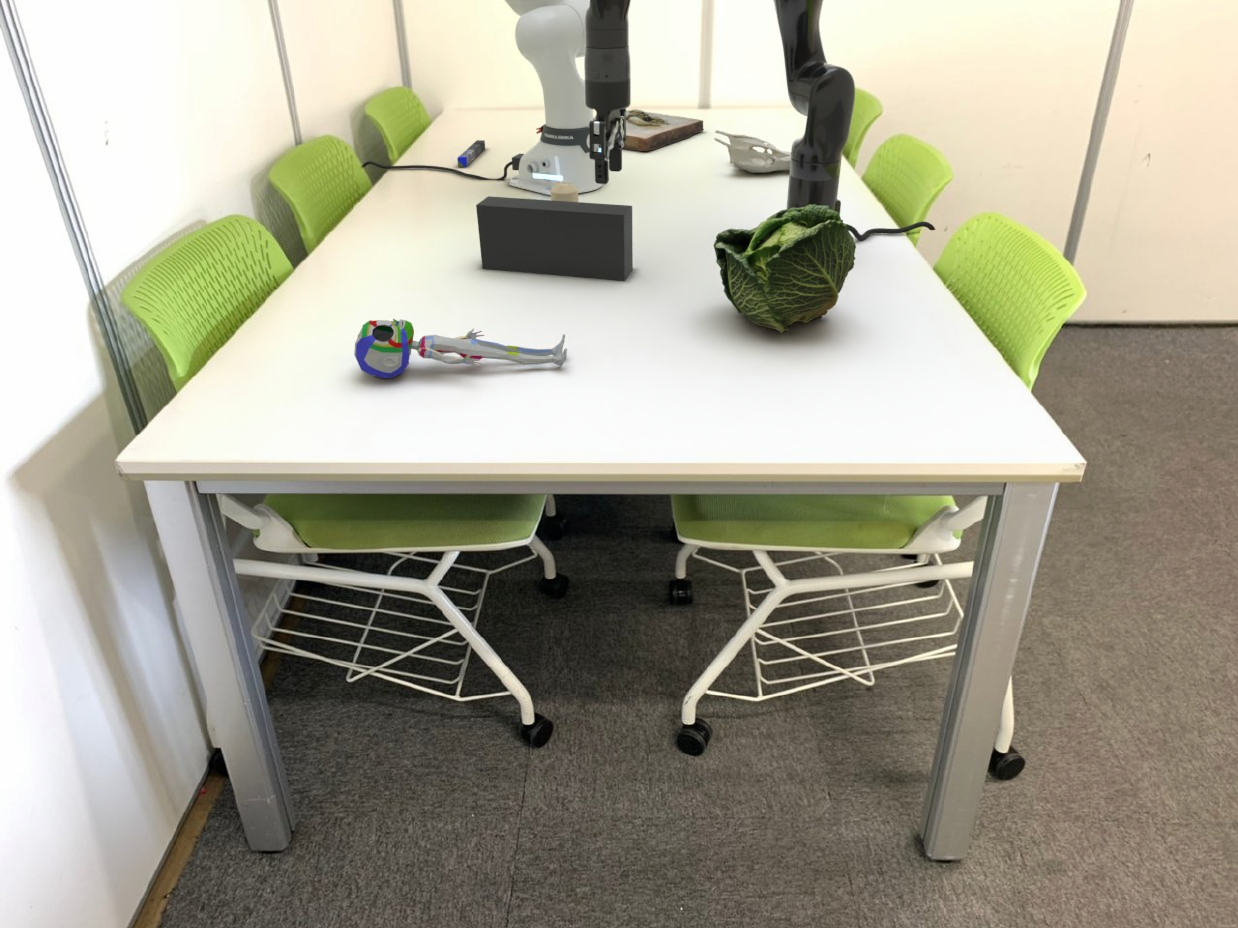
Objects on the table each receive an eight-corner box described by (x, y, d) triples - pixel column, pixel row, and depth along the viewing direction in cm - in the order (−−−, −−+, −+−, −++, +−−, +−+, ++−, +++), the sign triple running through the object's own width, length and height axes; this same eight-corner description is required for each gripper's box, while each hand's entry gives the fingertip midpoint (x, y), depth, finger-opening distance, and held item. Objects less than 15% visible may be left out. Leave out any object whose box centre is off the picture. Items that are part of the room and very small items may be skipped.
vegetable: (744, 347, 153) (688, 245, 145) (835, 284, 154) (785, 179, 146) (797, 369, 135) (736, 254, 127) (900, 297, 136) (846, 179, 128)
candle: (583, 228, 187) (581, 180, 181) (573, 236, 182) (571, 187, 177) (558, 226, 188) (556, 178, 183) (548, 234, 184) (545, 185, 178)
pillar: (484, 140, 247) (465, 158, 230) (485, 148, 248) (466, 167, 231) (476, 140, 247) (457, 158, 230) (477, 148, 248) (457, 166, 231)
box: (482, 268, 168) (475, 205, 161) (493, 258, 172) (488, 196, 166) (624, 280, 161) (623, 215, 155) (632, 270, 166) (632, 205, 160)
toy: (569, 347, 126) (349, 329, 122) (563, 400, 131) (350, 385, 126) (565, 318, 135) (359, 301, 130) (559, 369, 139) (360, 354, 134)
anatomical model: (716, 127, 227) (816, 125, 224) (715, 164, 232) (813, 163, 229) (712, 140, 215) (818, 139, 211) (712, 179, 220) (815, 179, 216)
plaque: (647, 125, 237) (559, 112, 252) (647, 153, 241) (560, 139, 256) (706, 107, 258) (622, 97, 273) (705, 133, 262) (622, 121, 277)
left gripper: (663, -84, 173) (661, -4, 181) (582, -82, 162) (584, 4, 169) (686, -84, 170) (684, -2, 177) (605, -81, 158) (606, 6, 165)
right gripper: (618, 84, 140) (618, 189, 148) (640, 70, 151) (640, 168, 160) (572, 82, 141) (575, 186, 150) (598, 68, 153) (599, 165, 162)
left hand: (634, 1), depth 173 cm, fingers open, 8 cm apart
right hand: (608, 177), depth 155 cm, fingers open, 8 cm apart
